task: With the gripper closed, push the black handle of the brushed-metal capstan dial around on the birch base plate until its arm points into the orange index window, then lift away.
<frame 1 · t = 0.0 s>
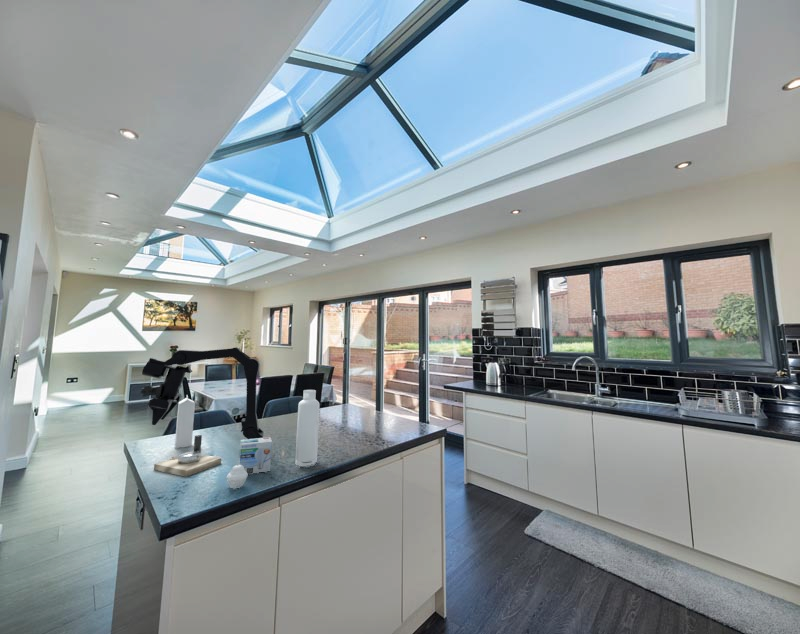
hand: (157, 422, 123), 15 cm above the counter, tool pointing down, fingers open, 9 cm apart
bottle: (306, 464, 126), on the counter
dial base plate: (188, 466, 121), on the counter
muffin: (236, 487, 104), on the counter
milk: (183, 446, 145), on the counter
capstan dial: (192, 448, 123), point 6 cm above the counter, hinge at 0.0°
light bulb box: (254, 471, 118), on the counter
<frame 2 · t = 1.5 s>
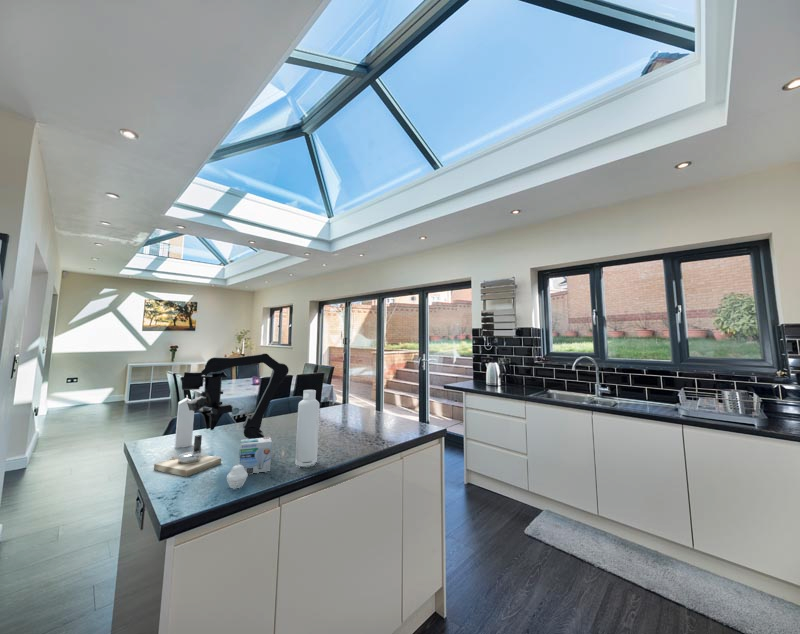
hand: (209, 429, 128), 12 cm above the counter, tool pointing down, fingers closed
nothing on the counter moved.
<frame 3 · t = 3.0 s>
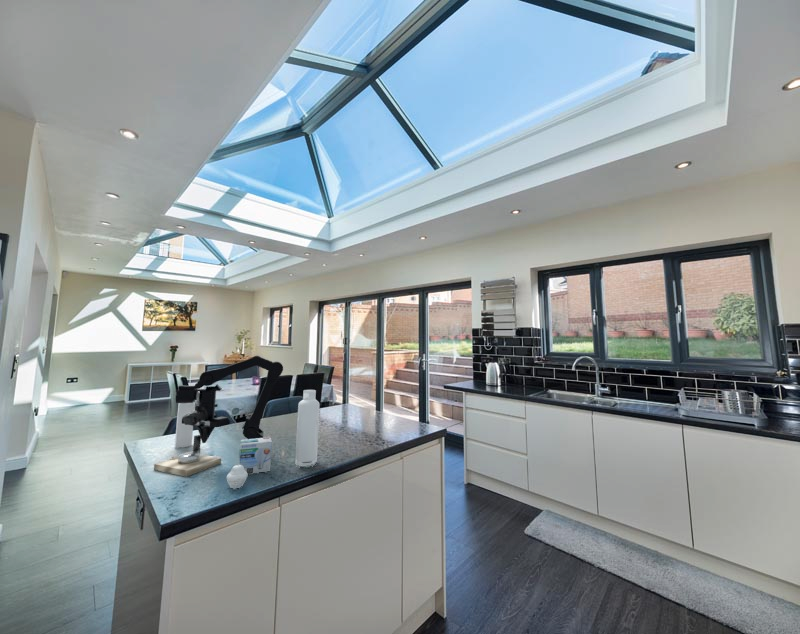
hand: (204, 442, 128), 7 cm above the counter, tool pointing down, fingers closed
capstan dial: (192, 448, 123), point 6 cm above the counter, hinge at 1.9°, touching gripper
everything else where it was.
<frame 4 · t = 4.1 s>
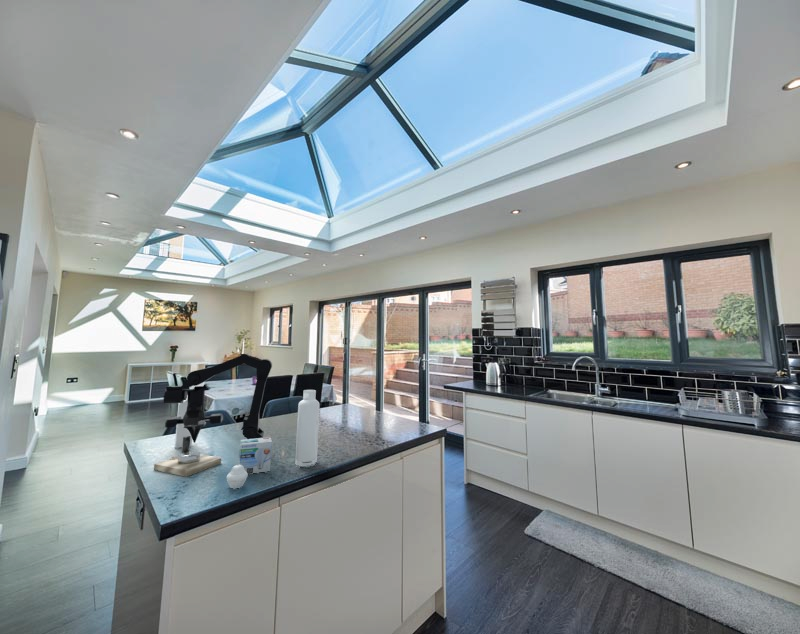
hand: (194, 442, 128), 7 cm above the counter, tool pointing down, fingers closed
capstan dial: (188, 449, 123), point 6 cm above the counter, hinge at 31.7°, touching gripper
everything else where it was.
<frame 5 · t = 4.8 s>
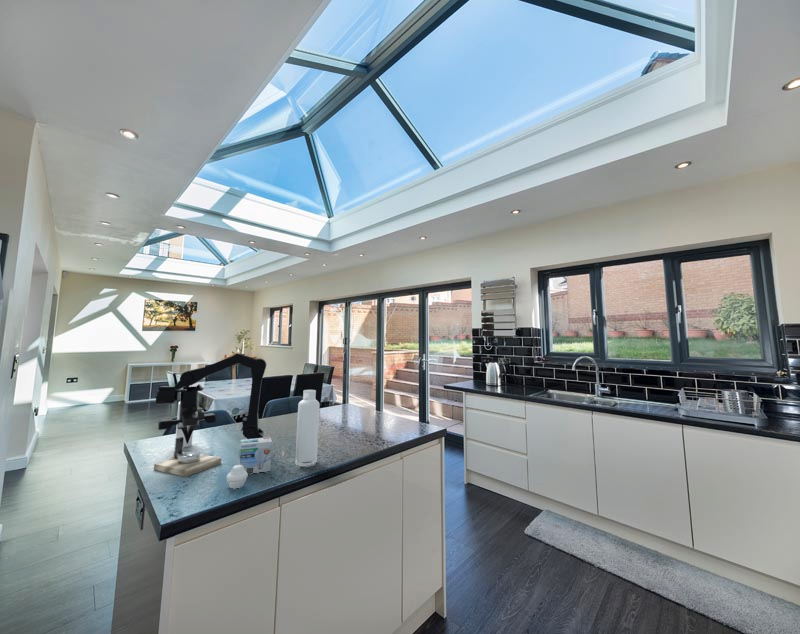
hand: (187, 443, 127), 7 cm above the counter, tool pointing down, fingers closed
capstan dial: (186, 449, 122), point 6 cm above the counter, hinge at 51.6°, touching gripper
everything else where it was.
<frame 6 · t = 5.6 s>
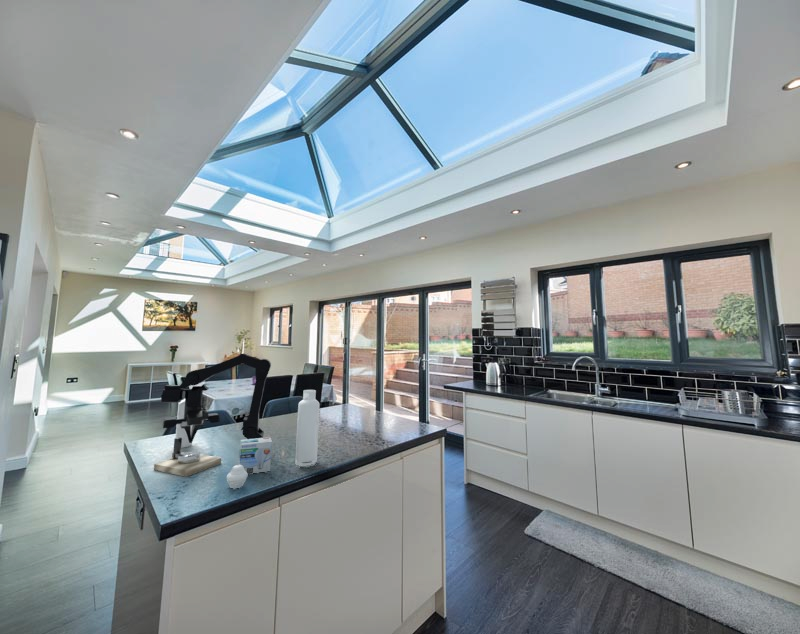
hand: (190, 442, 127), 7 cm above the counter, tool pointing down, fingers closed
capstan dial: (185, 449, 122), point 6 cm above the counter, hinge at 56.2°
everything else where it was.
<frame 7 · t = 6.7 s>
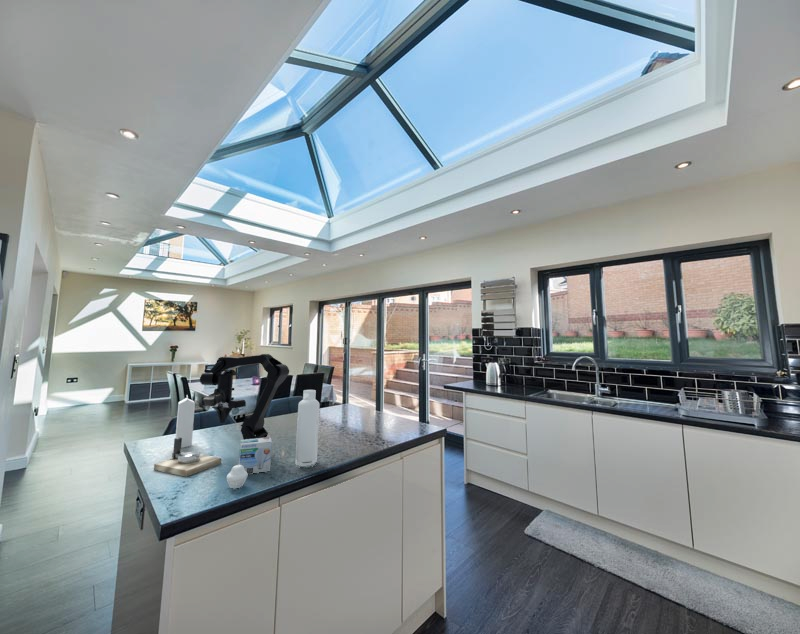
hand: (222, 423, 138), 12 cm above the counter, tool pointing down, fingers closed
nothing on the counter moved.
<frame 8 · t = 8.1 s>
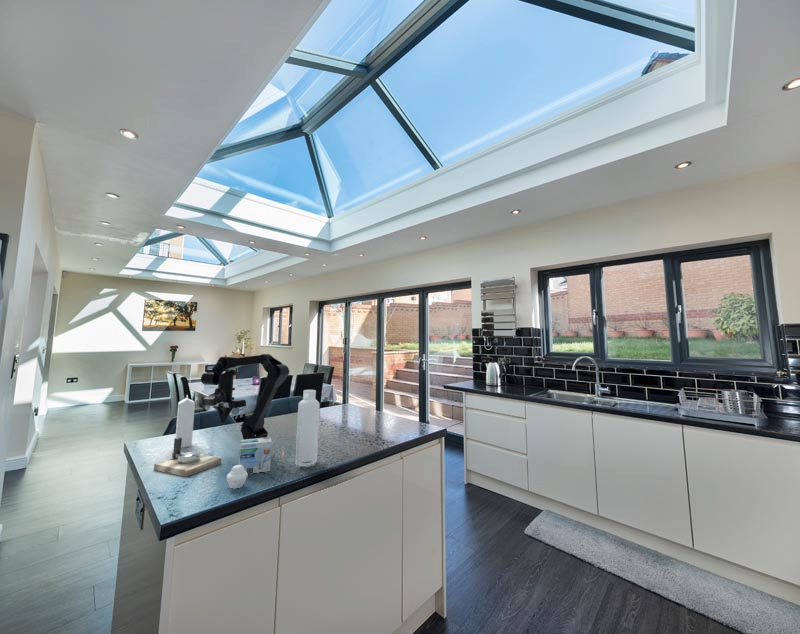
hand: (222, 422, 139), 12 cm above the counter, tool pointing down, fingers closed
nothing on the counter moved.
at the end: capstan dial at +56° (first picture: +0°); milk moved 0.2 cm from its start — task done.
